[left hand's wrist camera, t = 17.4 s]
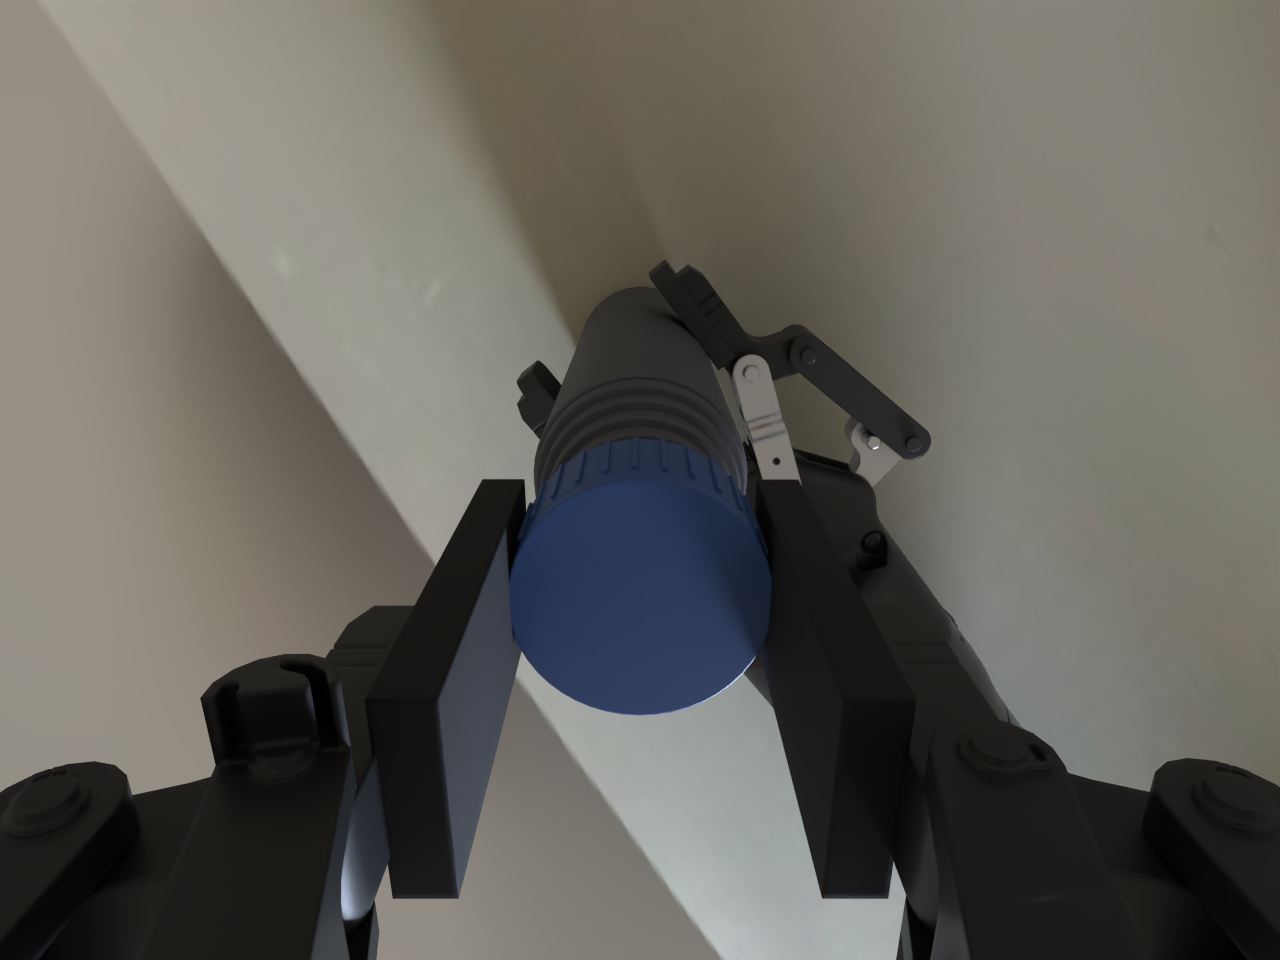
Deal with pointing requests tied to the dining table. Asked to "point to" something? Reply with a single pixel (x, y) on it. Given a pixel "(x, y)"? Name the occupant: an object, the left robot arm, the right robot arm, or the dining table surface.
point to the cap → (640, 579)
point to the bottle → (639, 389)
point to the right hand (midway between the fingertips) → (591, 322)
